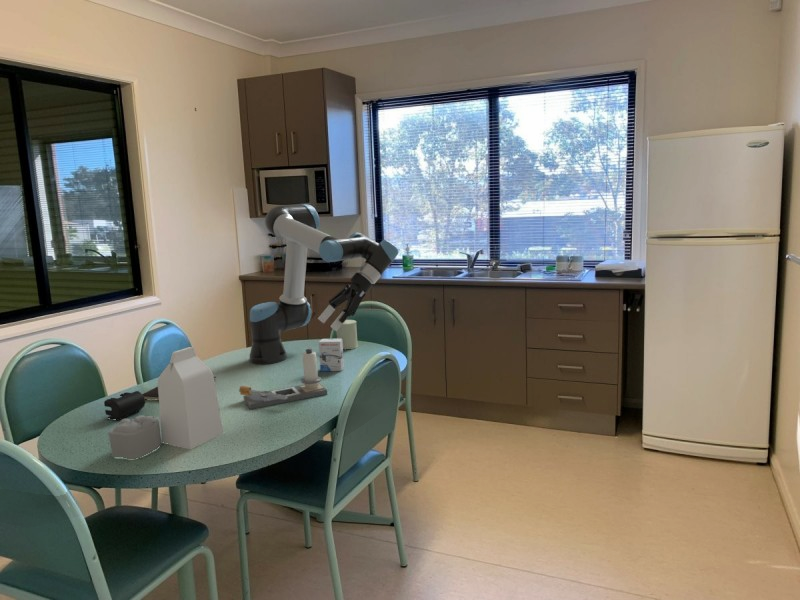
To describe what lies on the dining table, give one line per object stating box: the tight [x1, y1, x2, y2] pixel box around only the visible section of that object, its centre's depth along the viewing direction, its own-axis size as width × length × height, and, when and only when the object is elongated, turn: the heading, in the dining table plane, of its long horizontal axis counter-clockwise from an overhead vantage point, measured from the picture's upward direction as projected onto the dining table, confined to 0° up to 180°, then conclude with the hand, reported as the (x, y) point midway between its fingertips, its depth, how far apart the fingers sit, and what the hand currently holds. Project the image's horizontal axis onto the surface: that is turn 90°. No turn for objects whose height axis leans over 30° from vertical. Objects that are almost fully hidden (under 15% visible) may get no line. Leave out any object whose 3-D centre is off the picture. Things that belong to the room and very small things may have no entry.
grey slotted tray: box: [243, 382, 328, 410], centre depth 200 cm, size 10×26×3 cm, turn 115°
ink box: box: [318, 338, 345, 372], centre depth 228 cm, size 9×5×12 cm, turn 84°
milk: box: [157, 346, 224, 450], centre depth 167 cm, size 12×12×26 cm
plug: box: [300, 348, 322, 389], centre depth 202 cm, size 7×7×13 cm
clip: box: [238, 385, 288, 400], centre depth 194 cm, size 3×20×3 cm, turn 60°
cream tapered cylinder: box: [336, 319, 359, 351], centre depth 261 cm, size 9×9×12 cm
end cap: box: [103, 390, 146, 421], centre depth 190 cm, size 10×7×7 cm
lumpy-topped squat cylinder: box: [108, 414, 162, 459], centre depth 162 cm, size 10×13×9 cm
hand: (326, 325), depth 207 cm, fingers open, 13 cm apart
